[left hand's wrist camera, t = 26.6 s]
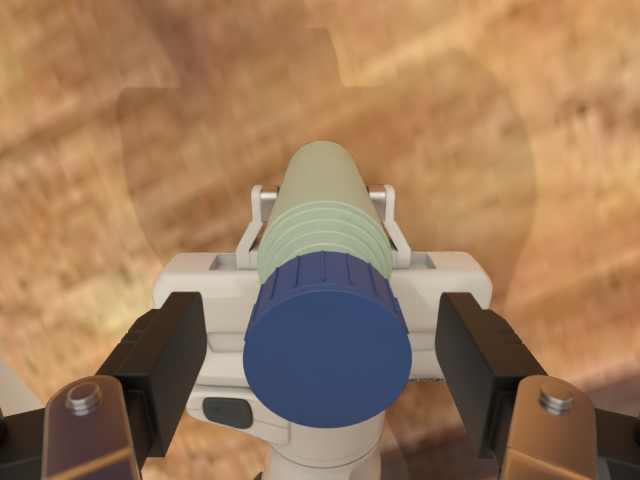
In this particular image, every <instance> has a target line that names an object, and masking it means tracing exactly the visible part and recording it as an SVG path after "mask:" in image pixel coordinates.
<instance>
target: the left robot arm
mask: <svg viewBox="0 0 640 480" xmlns="http://www.w3.org/2000/svg"><path fill="white" fill-rule="evenodd" d="M206 352H207V333H206V324H205V316H204V308H203V300H202V296H201V293H200V292H172V293H171V294H170V295H169V296H168V298H167V299H166V301H165V302H164V304H163V305H162V306H161V308H160V309H151V310H150V311H148V312H147V313H145V314H144V315H142V316H141V317H139V318H138V319H137V320H136V321H135V323H134V324H133V325H132V327H131V328H130V329H129V330H128V333H126V334H125V336H124V337H123V338H122V340H121V343H119V344H118V345H117V346H116V348H115V349H114V350H113V351H112V353H111V354H110V355H109V357H108V358H107V359H106V361H105V362H104V363H103V365H102V366H101V367H100V368H99V370H98V371H97V372H96V374H95V375H94V376H89V377H85V378H82V379H79V380H77V381H74V382H72V383H70V384H68V385H66V386H65V387H63V388H62V389H60V390H59V391H58V392H57V393H55V394H54V395H53V396H52V397H51V399H50V400H49V401H48V403H47V405H46V407H45V408H42V409H38V410H33V411H29V412H25V413H20V414H15V415H11V416H6V417H4V416H3V413H2V411H1V408H0V480H143V478H142V473H141V470H142V467H143V465H144V463H145V461H146V459H147V457H165V455H166V453H167V450H168V448H169V445H170V443H171V441H172V438H173V436H174V433H175V431H176V428H177V426H178V424H179V421H180V419H181V416H182V414H183V411H184V409H185V407H186V404H187V402H188V399H189V397H190V394H191V392H192V390H193V387H194V385H195V382H196V380H197V377H198V375H199V373H200V370H201V368H202V365H203V363H204V360H205V357H206ZM435 353H436V358H437V361H438V363H439V366H440V368H441V370H442V373H443V375H444V378H445V380H446V382H447V385H448V387H449V390H450V392H451V394H452V397H453V399H454V402H455V404H456V406H457V409H458V411H459V414H460V416H461V418H462V421H463V423H464V426H465V428H466V430H467V433H468V435H469V437H470V440H471V442H472V445H473V447H474V449H475V452H476V454H477V457H478V458H496V460H497V462H498V464H499V466H500V469H499V473H498V478H497V480H640V414H639V416H638V418H636V417H632V416H627V415H623V414H619V413H614V412H610V411H605V410H601V409H597V408H595V407H594V405H593V403H592V401H591V400H590V399H589V397H588V396H587V395H586V394H585V393H583V392H582V391H581V390H580V389H578V388H577V387H575V386H574V385H572V384H570V383H568V382H566V381H563V380H561V379H558V378H555V377H551V376H548V374H547V373H546V372H545V371H544V369H543V368H542V367H541V365H540V364H539V363H538V361H537V360H536V359H535V358H534V356H533V355H532V354H531V352H530V351H529V350H528V349H527V347H526V346H525V345H524V344H522V341H521V339H520V338H519V337H518V336H517V334H515V333H514V330H513V329H512V328H511V326H510V325H509V324H508V323H507V321H506V320H505V319H504V318H502V317H501V316H499V315H498V314H496V313H495V312H493V311H492V310H490V309H482V308H481V306H480V305H479V304H478V302H477V301H476V299H475V298H474V297H473V295H472V294H471V293H470V292H443V293H442V294H441V296H440V301H439V309H438V317H437V325H436V334H435Z"/></svg>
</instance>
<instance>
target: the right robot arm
mask: <svg viewBox="0 0 640 480" xmlns="http://www.w3.org/2000/svg"><path fill="white" fill-rule="evenodd" d="M366 189H367V191H368V193H369V196H370V198H371V200H372V203H373V205H374V208H375V210H376V212H377V215H378V217H379V219H380V221H382V222H383V224H384V226H385V228H386V230H387V232H388V233H389V235H390V237H391V238H390V237H387V238H388V240H389V243H390V246H391V250H392V257H393V267H392V274H391V280H390V283H389V284H390V287H391V289H392V292H393V295H394V297H397V300H398V302H399V305H400V308H401V311H402V314H403V317H404V319H405V322H406V325H407V328H408V331H409V334H407V335H408V338H409V341H410V344H411V351H412V366H411V372H410V375H409V378H408V381H407V383H414V382H422V381H423V382H424V381H432V382H434V383H445V382H446V380H445V378H444V375H443V373H442V370H441V368H440V366H439V363H438V361H437V358H436V353H435V334H436V325H437V317H438V309H439V301H440V296H441V294H442V293H443V292H470V293H471V294H472V295H473V297H474V298H475V299H476V301H477V302H478V304H479V305H480V306H481V308H482V309H489V305H490V301H491V297H492V291H493V286H492V282H491V280H490V278H489V276H488V275H487V273H486V272H485V270H484V269H483V268H482V266H481V265H480V264H479V263H478V262H477V261H476V260H475V259H474V258H473V257H472V256H471V255H470V254H468V253H466V252H461V251H431V252H411V249H410V247H409V245H408V243H407V241H406V239H405V238H404V236H403V234H402V232H401V230H400V228H399V226H398V224H397V223H396V221H395V219H394V208H395V190H394V188H393V186H392V185H391V184H389V185H383V184H382V185H366ZM279 190H280V186H279V185H254V187H253V189H252V192H251V204H252V220H251V221H250V223H249V225H248V227H247V229H246V231H245V233H244V235H243V237H242V238H241V241H240V243H239V245H238V247H237V249H236V252H211V253H179V254H177V255H175V256H174V257H173V258H172V259H171V260H170V262H169V263H168V264H167V265H166V266H165V267H164V268H163V269H162V271H161V272H160V273H159V275H158V276H157V278H156V280H155V282H154V284H153V288H152V296H153V303H154V308H155V309H160V308H161V306H162V305H163V304H164V302H165V301H166V299H167V298H168V296H169V295H170V294H171V293H172V292H200V293H201V296H202V300H203V308H204V316H205V324H206V333H207V352H206V357H205V360H204V363H203V365H202V368H201V370H200V373H199V375H198V377H197V380H196V382H195V385H194V387H193V390H192V392H191V394H190V397H189V399H188V402H187V404H186V410H187V412H188V414H189V415H190V416H191V417H193V418H194V419H197V420H200V421H204V422H208V423H212V424H216V425H220V426H224V427H228V428H231V429H235V430H238V431H241V432H244V433H247V434H250V435H253V436H256V437H258V438H260V439H263V440H265V441H267V444H268V448H267V452H266V458H265V472H260V473H259V474H258V475H257V476H256V477H255V478H254V479H253V480H380V477H381V457H380V452H379V448H378V445H379V443H380V441H381V438H382V435H383V430H384V420H385V410H384V411H382V412H381V413H379V414H378V415H376V416H374V417H372V418H370V419H369V420H366V421H364V422H361V423H358V424H355V425H351V426H347V427H341V428H329V429H327V428H313V427H307V426H303V425H298V424H296V423H293V422H290V421H287V420H285V419H283V418H281V417H279V416H278V415H276V414H275V413H273V412H271V411H270V410H269V409H268V408H266V407H265V406H264V405H263V404H262V403H261V402H260V401H259V400H258V399H257V397H256V396H255V395H254V393H253V392H252V390H251V388H250V386H249V384H248V382H247V379H246V377H245V374H244V368H243V350H244V345H245V341H244V337H245V333H246V330H247V327H248V323H249V320H250V316H251V313H252V310H253V306H254V304H256V301H257V297H258V294H259V290H260V287H261V285H260V281H259V276H258V271H257V254H258V248H259V245H260V242H261V239H262V238H256V236H257V235H258V233H259V231H260V229H261V227H262V225H263V223H264V222H268V220H269V217H270V214H271V212H272V209H273V206H274V203H275V201H276V198H277V195H278V193H279ZM255 238H256V239H255Z"/></svg>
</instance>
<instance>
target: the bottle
mask: <svg viewBox="0 0 640 480" xmlns="http://www.w3.org/2000/svg"><path fill="white" fill-rule="evenodd" d="M321 250H324V251H334V252H340V253H349V255H352V256H355V257H357V258H360V259H362V260H364V261H365V262H367V263H369V262H370V263H371V264H372V266H373V267H374V268H375V269H377V270H378V271H379V272H380V273H381V274H382V275H383V276H384V278H387V279H388V281H389V283H390V280H391V274H392V267H393V257H392V250H391V246H390V243H389V240H388V238H387V236H386V233H385V231H384V229H383V226H382V224H381V222H380V219H379V217H378V215H377V212H376V210H375V208H374V205H373V203H372V200H371V198H370V196H369V193H368V191H367V189H366V186H365V184H364V182H363V179H362V177H361V175H360V172H359V170H358V168H357V165H356V163H355V161H354V159H353V157H352V155H351V154H350V153H349V152H348V151H347V150H346V149H345V148H344V147H342V146H341V145H339V144H337V143H334V142H331V141H324V140H322V141H314V142H311V143H308V144H306V145H304V146H303V147H301V148H300V149H299V150H298V151H297V152H296V153H295V154H294V155H293V157H292V158H291V160H290V162H289V165H288V168H287V171H286V173H285V176H284V179H283V182H282V184H281V187H280V190H279V193H278V195H277V198H276V201H275V203H274V206H273V209H272V212H271V214H270V217H269V220H268V223H267V225H266V228H265V231H264V234H263V236H262V239H261V242H260V245H259V248H258V254H257V271H258V276H259V281H260V285H261V284H264V283H265V282H266V280H267V279H268V277H269V276H270V275H271V274H272V273H273V272H274V271H275V268H276V267H278V268H279V267H280V266H281V265H283V264H284V263H286V262H287V261H289V260H291V259H293V258H295V257H296V256H298V255H299V256H301V255H304V254H307V253H312V252H319V251H321Z"/></svg>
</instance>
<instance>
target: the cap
mask: <svg viewBox="0 0 640 480" xmlns="http://www.w3.org/2000/svg"><path fill="white" fill-rule="evenodd" d="M407 334H409V331H408V328H407V325H406V322H405V319H404V317H403V314H402V311H401V308H400V305H399V302H398V300H397V297H394V295H393V292H392V289H391V287H390V284H389V281H388V279H387V278H384V276H383V275H382V274H381V273H380V272H379V271H378V270H377V269H375V268H374V267H373V266H372V264H371V263H370V262H369V263H367V262H365V261H364V260H362V259H360V258H357V257H355V256H352V255H349V253H340V252H334V251H324V250H321V251H319V252H312V253H307V254H304V255H301V256H299V255H298V256H296V257H295V258H293V259H291V260H289V261H287V262H286V263H284V264H283V265H281V266H280V267H279V268H278V267H276V268H275V271H274V272H273V273H272V274H271V275H270V276H269V277H268V279H267V280H266V282H265V283H264V284H261V287H260V290H259V294H258V297H257V301H256V304H254V306H253V310H252V313H251V316H250V320H249V323H248V327H247V330H246V333H245V337H244V341H245V345H244V350H243V368H244V374H245V377H246V379H247V382H248V384H249V386H250V388H251V390H252V392H253V393H254V395H255V396H256V397H257V399H258V400H259V401H260V402H261V403H262V404H263V405H264V406H265V407H266V408H268V409H269V410H270V411H271V412H273V413H275V414H276V415H278V416H279V417H281V418H283V419H285V420H287V421H290V422H293V423H296V424H298V425H303V426H307V427H313V428H327V429H329V428H341V427H347V426H351V425H355V424H358V423H361V422H364V421H366V420H369V419H370V418H372V417H374V416H376V415H378V414H379V413H381V412H382V411H384V410H385V409H386V408H387V407H389V406H390V405H391V404H392V403H393V402H394V401H395V400H396V399H397V398H398V396H399V395H400V393H401V392H402V391H403V389H404V387H405V385H406V383H407V381H408V378H409V375H410V372H411V366H412V351H411V344H410V341H409V338H408V335H407Z"/></svg>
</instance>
